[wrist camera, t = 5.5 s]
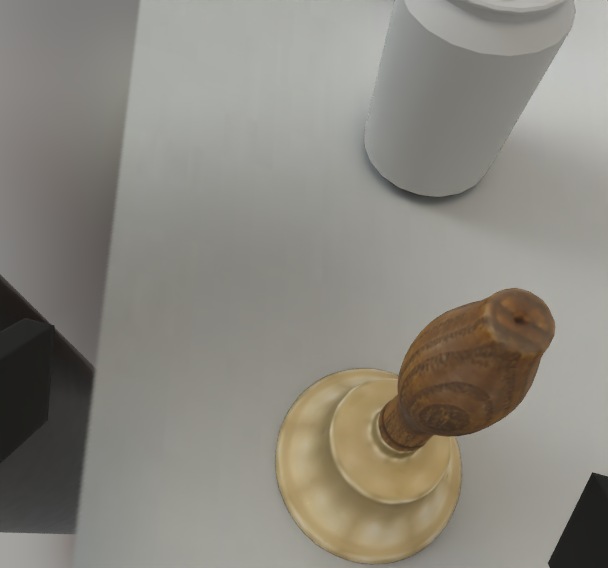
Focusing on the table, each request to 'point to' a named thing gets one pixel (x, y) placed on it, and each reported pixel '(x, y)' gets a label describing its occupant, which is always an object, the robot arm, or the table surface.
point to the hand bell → (406, 429)
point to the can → (457, 86)
